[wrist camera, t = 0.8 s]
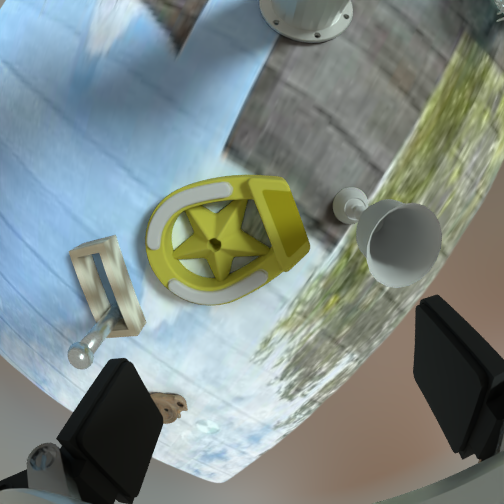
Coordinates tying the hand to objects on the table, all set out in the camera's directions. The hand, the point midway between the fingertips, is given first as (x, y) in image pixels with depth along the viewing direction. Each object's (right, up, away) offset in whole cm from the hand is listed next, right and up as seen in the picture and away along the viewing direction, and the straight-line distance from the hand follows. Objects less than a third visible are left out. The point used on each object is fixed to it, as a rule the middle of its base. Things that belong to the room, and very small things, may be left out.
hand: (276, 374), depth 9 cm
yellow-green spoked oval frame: (-4, +6, +33) cm, 34 cm away
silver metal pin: (-22, -5, +37) cm, 43 cm away
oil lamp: (-18, -26, +44) cm, 54 cm away
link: (-23, -1, +36) cm, 43 cm away
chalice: (+12, +10, +30) cm, 34 cm away
